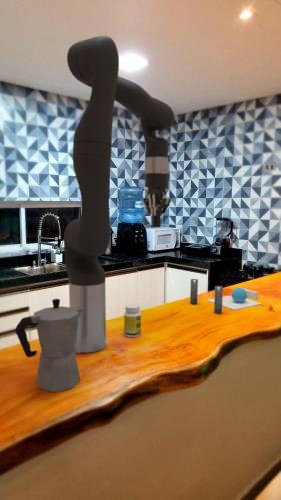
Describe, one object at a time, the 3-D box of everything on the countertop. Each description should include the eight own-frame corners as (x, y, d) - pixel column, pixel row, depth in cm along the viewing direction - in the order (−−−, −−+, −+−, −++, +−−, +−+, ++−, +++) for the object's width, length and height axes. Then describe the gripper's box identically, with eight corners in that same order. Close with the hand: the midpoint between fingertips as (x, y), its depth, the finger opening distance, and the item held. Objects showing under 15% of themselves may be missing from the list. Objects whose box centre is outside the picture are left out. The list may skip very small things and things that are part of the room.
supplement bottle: (138, 338, 101) (139, 308, 100) (122, 337, 102) (122, 307, 101) (142, 332, 106) (142, 304, 105) (126, 330, 107) (126, 303, 106)
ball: (249, 303, 135) (239, 304, 132) (239, 300, 139) (228, 301, 137) (250, 288, 134) (239, 289, 132) (239, 286, 139) (228, 287, 136)
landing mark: (234, 310, 127) (234, 309, 127) (206, 300, 138) (206, 299, 138) (261, 304, 134) (261, 303, 134) (233, 295, 146) (233, 294, 146)
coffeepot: (72, 364, 86) (70, 289, 83) (97, 378, 79) (95, 297, 76) (8, 387, 75) (4, 302, 72) (30, 406, 68) (26, 313, 66)
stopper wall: (255, 299, 140) (255, 293, 140) (237, 294, 148) (237, 288, 147) (257, 298, 141) (258, 292, 140) (240, 293, 148) (240, 287, 148)
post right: (217, 314, 122) (218, 288, 120) (212, 312, 124) (213, 286, 123) (223, 313, 123) (224, 287, 122) (218, 311, 125) (219, 285, 124)
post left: (193, 305, 132) (193, 280, 131) (188, 303, 135) (189, 279, 133) (198, 304, 134) (199, 279, 132) (194, 302, 136) (194, 278, 135)
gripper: (135, 173, 119) (135, 226, 122) (158, 171, 108) (158, 229, 111) (154, 174, 123) (154, 225, 126) (178, 171, 112) (177, 228, 115)
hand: (156, 227), depth 118 cm, fingers closed
